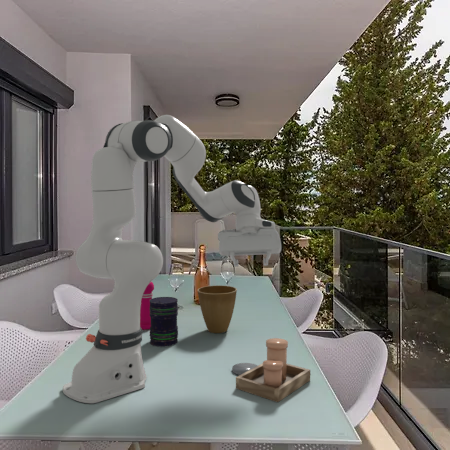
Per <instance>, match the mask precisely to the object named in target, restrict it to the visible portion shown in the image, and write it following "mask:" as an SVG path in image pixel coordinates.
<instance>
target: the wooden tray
mask: <svg viewBox="0 0 450 450" xmlns="http://www.w3.org/2000/svg"><path fill="white" fill-rule="evenodd" d="M310 381H311V369H308V368H305V367H301V366H298V365H294V364H290V363H287V368H286V379H285V380H282V385H281V386H279V387H278V388H274V387H271V386H268V385H265V384H264V368H263V362H262V363H260V364H259V365H257V367H255V368H253V369H251V370H249V371H247V372H245V373H243V374H241V375H238V376H237V375H236V377H235V389H236V390H239V391H242V392H246V393H249V394H252V395H254V396H257V397H261V398H263V399H267V400H269V401H272V402H276V403H279V402H280V401H282V400H284V399H286V397H288V396H290V395H291V394H292V393H294V392H296V391H297V390H298V389H300V388H301V387H303V386H304V385H307V383H308V382H310Z"/></svg>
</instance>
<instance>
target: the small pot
mask: <svg viewBox="0 0 450 450" xmlns="http://www.w3.org/2000/svg"><path fill="white" fill-rule="evenodd" d="M262 363H263V368H264V384H265V385H268V386H271V387H274V388H278V387H279V386H281V385H282V369H283V362H281V361H279V360H273V359H271V360H267V359H266V360H264V361H262Z"/></svg>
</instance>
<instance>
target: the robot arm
mask: <svg viewBox="0 0 450 450" xmlns="http://www.w3.org/2000/svg"><path fill="white" fill-rule="evenodd" d="M104 141H105V142H104V145H103V146H102V148H100V149H98V150H96V151H95V152H94V153H93V155H92V159H91V160H92V161H91V171H90V174H91V175H90V181H91V182H90V185H91V186H90V187H91V199H92V225H91V228H90V231H89V234H88V236H87V237H86V239H85V241H83V242H82V243H81V244H80V245H79V246H78V249H77V251H76V254H75V265H76V267H77V269H78V270H79V272H80V273H82V274H84V275H86V276H89V277H93V278H95V279H105V280H114V285H113V289H112V292H110V293H108V294H107V295H105V296H103V298H102V299H101V300H100V301H99V304H98V328H99V329H98V330H97V332H96V335H94V334H91V333H89V334H87V335H86V337H85V341H86V342H90V343H91V344H92V343H93V346H92V347H91V348H90V349H89V350H88V352H86V354H85V355H83V356H82V358H80V359H79V361H78V362H77V363H76V364H75V365H74V366H73V369H72V374H71V381H69V382H67V383H65V384H63V386H62V392H63V394H64V395H65V396H66V397H68V398H70V399H71V400H74V401H77V402H80V403H85V404H97V403H101V402H104V401H106V400H107V401H108V400H109V399H113V398H116V397H119V396H122V395H125V394H129V393H132V392H135V391H138V390H141V389H142V390H143V388H145V387H146V383H145V382H146V380H147V378H148V377H147V373H146V370H145V366H144V361H143V355H142V344H141V343H142V341H143V329H142V328H141V327H140V308H141V299H142V296H143V293H144V291H145V289H146V287H147V286H148V284H149V283H150V282H153V281H154V280H156V278H157V277H158V276H159V275H160V274H161V272H162V269H163V266H164V256H163V254H162V251H161V249H160V248H159V247H158V246H157V245H155V244H154V243H149V242H147V241H143V240H131V239H123V238H122V237H123V235H122V234H123V230H124V227H126V226H128V225H129V224H131V222H133V220H134V219H135V218H136V215H137V209H136V207H137V206H136V195H135V192H136V191H135V181H134V176H133V175H134V169H135V167H136V164H137V163H144V162H155V161H158V160H160V159H161V158H163V157H164V158H165V159H166V160H167V161H168V162H169V163H170V164H171V165H172V167H173V169H172V174H173V177H174V179H175V182H176V183H177V184H178V186H179V187H180V189H182V191H183V192H184V193H185V195H186V196H187V197H188V198H189V199H190V201H191V202H192V203H193V204H194V206H195V207H196V209H197V210H198V212H199V214H200V216H201V217H202V218H203V219H204V220H206V221H208V222H210V223H217V222H218V221H220V220H222V219H223V218H225V217H227V216H230V215H232V214H235V228H234V229H232V228H231V229H222V230H220V231H219V232H218V233H217V240H218V242H219V244H218V253H219V254H220V256H221V257H230V260H231V261H232V262H233V267H237V268H238V267H239V259H236V258H235V256H250V255H251V256H254V255H255V256H257V255H266V257H265V258H262V259H263V260H262V262H263V263H262V264H263V266H269V261H270V259H271V256H272V255H279V254H280V253H281V252H282V241H281V238H280V237H281V235H280V234H279V232H278V231H277V229H276V223H275V222H274V221H270V220H266V219H263V218H262V217H261V210H262V207H261V201H260V196H259V194H258V191H257V189H256V188H255V187H254V186H252V185H249V184H246V183H244V182H242V181H240V180H237V179H235V180H231V181H230V182H227V183H225V184H223V185H222V186H220V187H218V188H215V189H214V190H211V191H205V190H204V189H203V188H202V186H201V185H200V184H199V182H198V181H197V180H196V178H195V177H196V176H197V174H198V173H199V172H200V170H201V169H202V168H203V166H204V164H205V161H206V156H207V151H206V146H205V145H204V143H203V142H202V140H201V139H200V138H199V136H198V135H196V134H195V133H194V132H193V131H192V130H191V129H190V128H189V127H188V126H187V125H185V124H184V123H183V122H181V121H180V120H179V119H177V118H176V117H175V116H173V115H170V114H162V115H161V116H158V117H157V118H155V119H154V120H151V119H150V120H131V121H126V122H123V123H118V124H116V125H114V126H113V127H111V128H110V129H109V131H108V132H107V135H106V137H105V140H104Z"/></svg>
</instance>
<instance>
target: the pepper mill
mask: <svg viewBox="0 0 450 450" xmlns="http://www.w3.org/2000/svg"><path fill="white" fill-rule="evenodd" d="M154 290H155V284H154V282H153V281H151V282H150V283H149V284H148V286H147V287H146V289H145V291H144V293H143V296H142V299H141V308H140V327H141V328H142V331H144V330H150V327H151V317H150V299H153V298H154V294H153V293H154V292H153V291H154Z"/></svg>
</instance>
